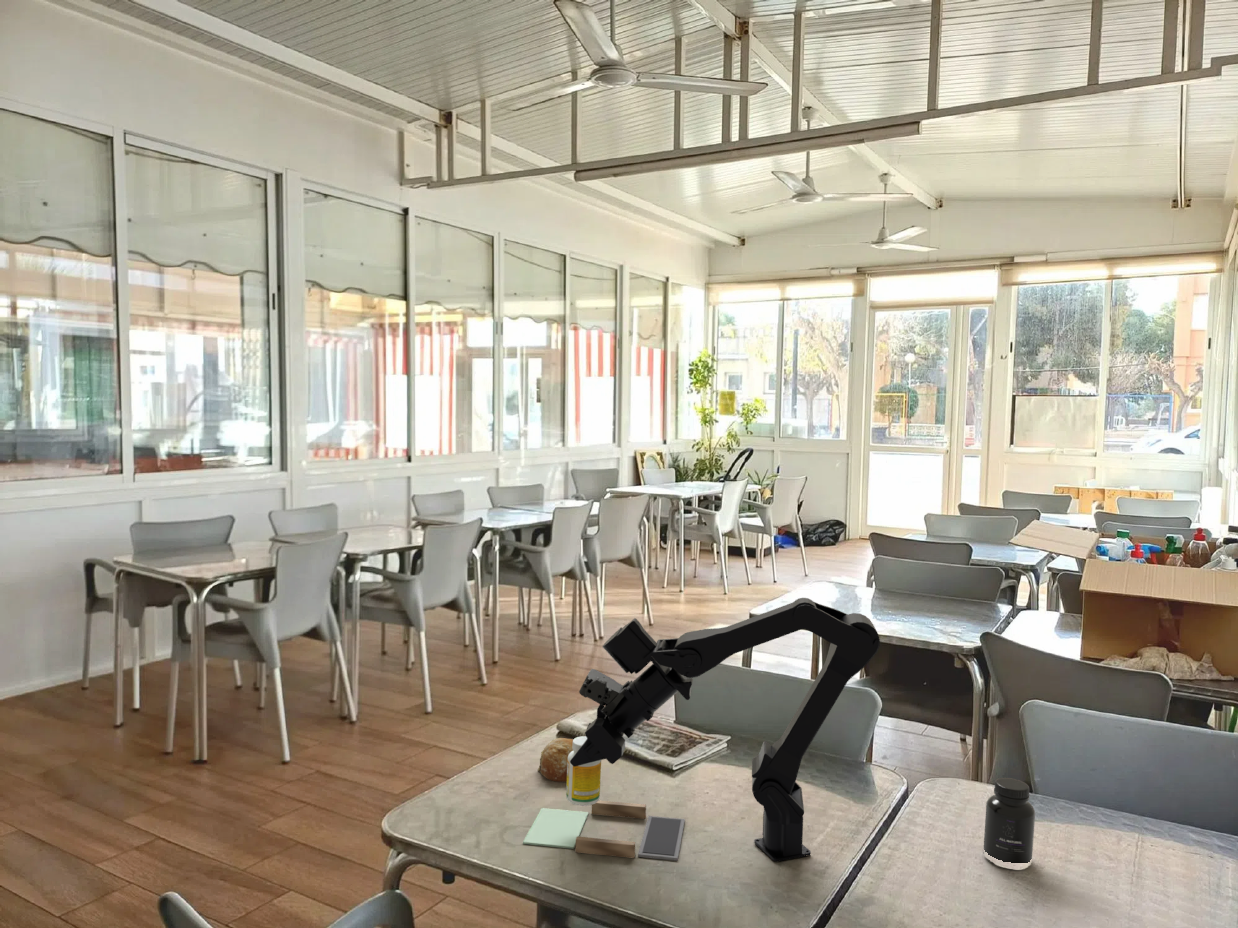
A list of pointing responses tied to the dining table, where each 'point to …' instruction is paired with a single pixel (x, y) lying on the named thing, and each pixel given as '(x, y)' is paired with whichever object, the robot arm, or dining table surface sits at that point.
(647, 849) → the pit rectangle
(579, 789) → the supplement bottle
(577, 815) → the pad
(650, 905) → the dining table surface
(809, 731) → the robot arm
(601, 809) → the walnut channel
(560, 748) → the bread roll
